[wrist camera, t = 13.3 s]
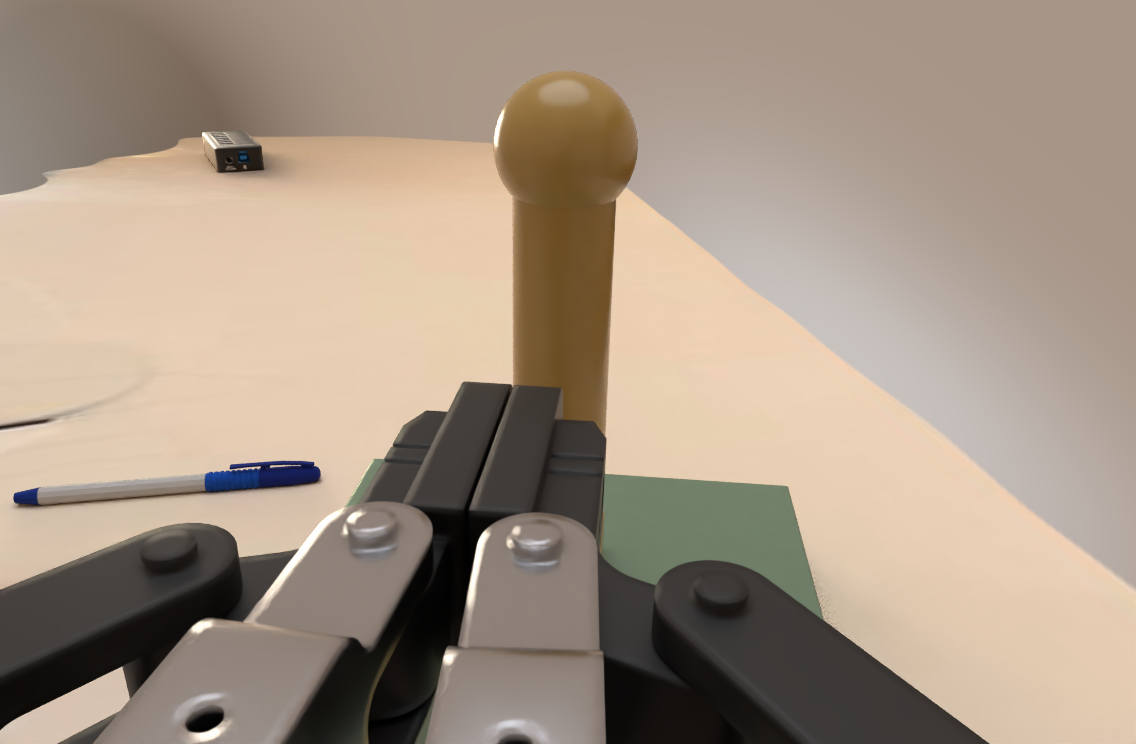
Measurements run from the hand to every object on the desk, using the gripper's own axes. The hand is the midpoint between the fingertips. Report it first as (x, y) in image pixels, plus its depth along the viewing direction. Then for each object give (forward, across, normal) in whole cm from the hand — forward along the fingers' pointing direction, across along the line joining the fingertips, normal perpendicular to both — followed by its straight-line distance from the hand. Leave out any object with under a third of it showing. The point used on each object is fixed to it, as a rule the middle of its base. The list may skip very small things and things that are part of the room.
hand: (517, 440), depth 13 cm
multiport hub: (+77, -41, -11) cm, 88 cm away
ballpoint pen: (+15, -15, -11) cm, 24 cm away
